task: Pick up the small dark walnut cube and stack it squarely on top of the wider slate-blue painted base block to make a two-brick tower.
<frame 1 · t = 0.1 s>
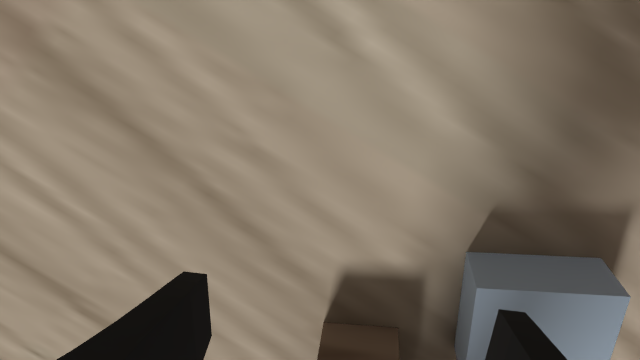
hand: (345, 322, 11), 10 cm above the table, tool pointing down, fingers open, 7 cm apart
base block: (520, 301, 22), on the table
walnut cube: (360, 351, 25), on the table
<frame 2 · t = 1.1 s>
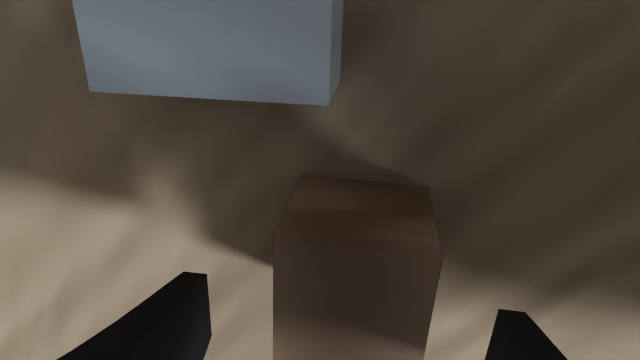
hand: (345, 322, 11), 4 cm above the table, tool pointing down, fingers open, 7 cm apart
walnut cube: (358, 233, 15), on the table
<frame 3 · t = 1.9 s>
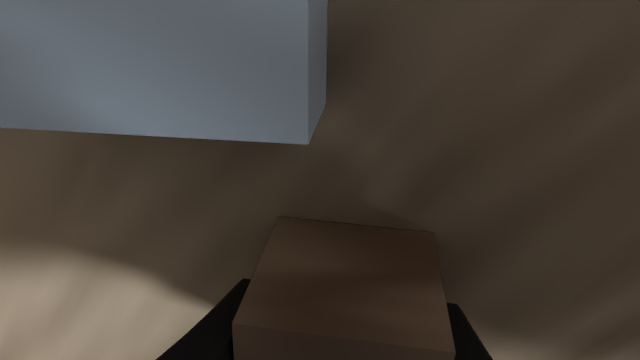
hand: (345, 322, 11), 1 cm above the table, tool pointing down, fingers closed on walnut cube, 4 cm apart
walnut cube: (349, 286, 12), on the table, touching gripper
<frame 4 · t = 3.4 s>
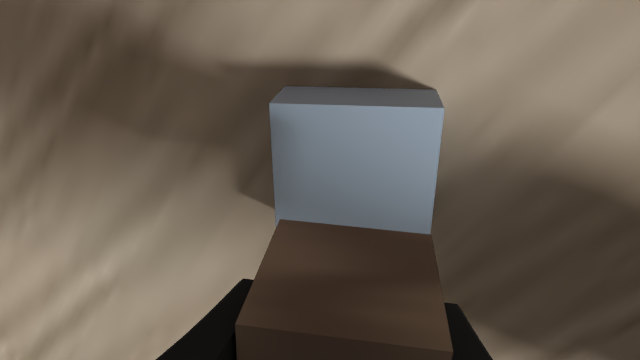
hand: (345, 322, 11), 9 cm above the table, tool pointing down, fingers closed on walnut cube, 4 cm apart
base block: (357, 155, 19), on the table
walnut cube: (349, 287, 13), point 7 cm above the table, touching gripper
when the fingers open (5 cm above the table, at t = 4.6 s): walnut cube stays where it is, point 3 cm above the table.
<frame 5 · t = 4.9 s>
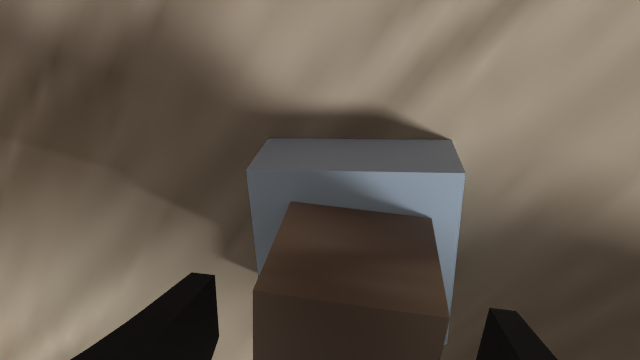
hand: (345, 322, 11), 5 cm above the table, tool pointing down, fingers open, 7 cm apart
base block: (357, 214, 16), on the table
walnut cube: (353, 267, 13), point 3 cm above the table
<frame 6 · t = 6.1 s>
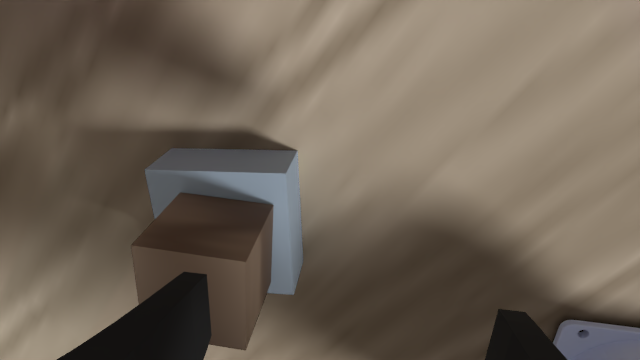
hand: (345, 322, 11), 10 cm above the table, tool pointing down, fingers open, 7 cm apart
base block: (242, 203, 22), on the table
walnut cube: (227, 238, 19), point 3 cm above the table
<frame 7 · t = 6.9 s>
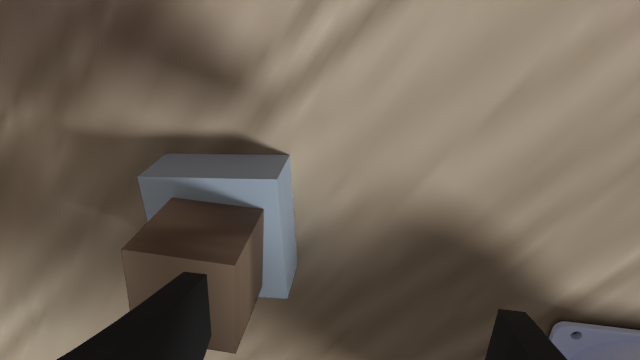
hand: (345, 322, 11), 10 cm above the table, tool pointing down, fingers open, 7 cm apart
base block: (236, 208, 22), on the table, touching walnut cube
walnut cube: (218, 243, 19), point 3 cm above the table, touching base block
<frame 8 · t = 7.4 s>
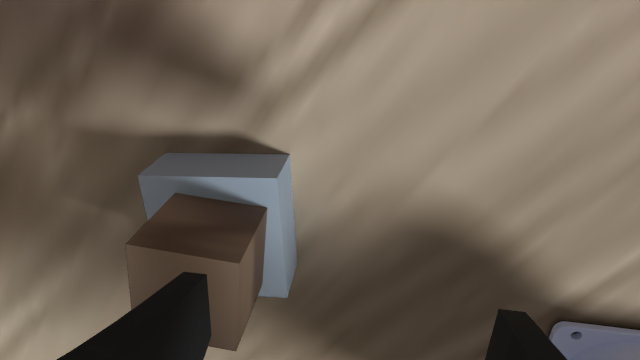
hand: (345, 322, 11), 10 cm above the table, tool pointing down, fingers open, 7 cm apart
base block: (236, 207, 22), on the table, touching walnut cube
walnut cube: (220, 240, 19), point 3 cm above the table, touching base block
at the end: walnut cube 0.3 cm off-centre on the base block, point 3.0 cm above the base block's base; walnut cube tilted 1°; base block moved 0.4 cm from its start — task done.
